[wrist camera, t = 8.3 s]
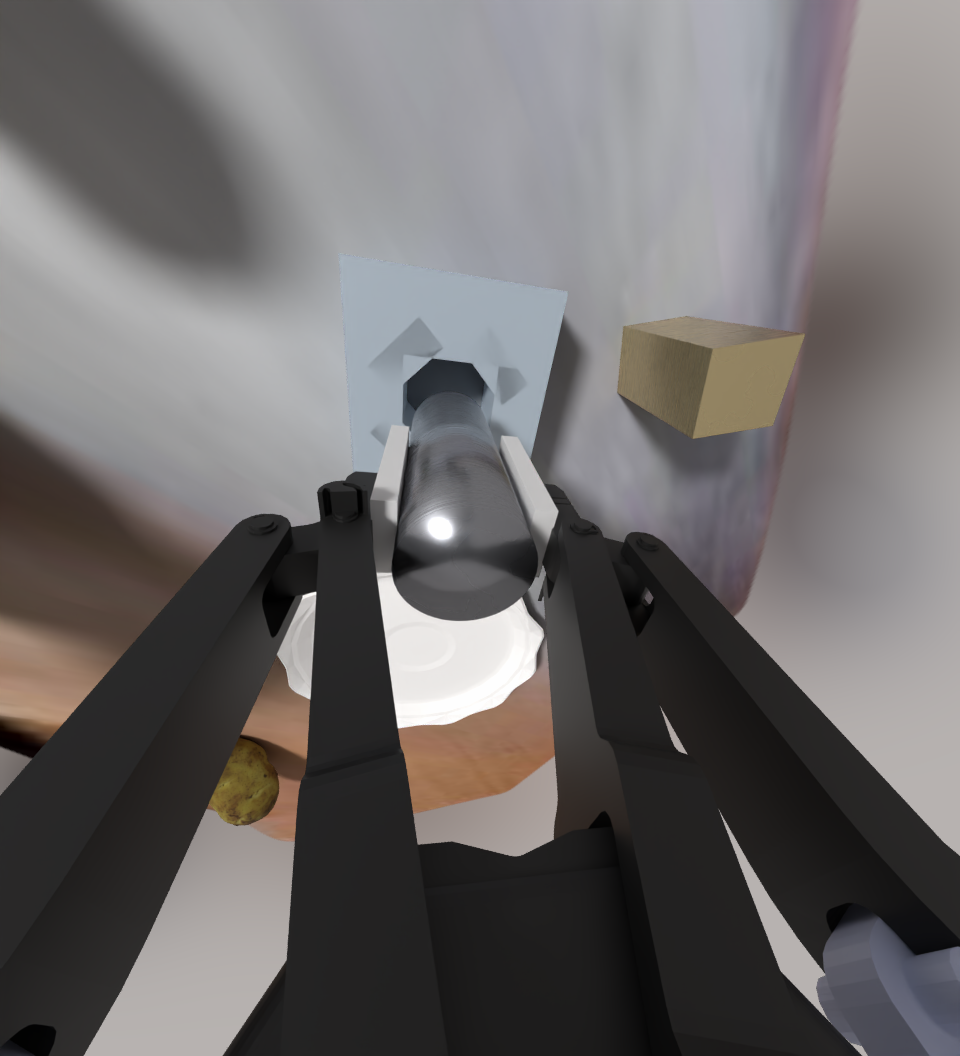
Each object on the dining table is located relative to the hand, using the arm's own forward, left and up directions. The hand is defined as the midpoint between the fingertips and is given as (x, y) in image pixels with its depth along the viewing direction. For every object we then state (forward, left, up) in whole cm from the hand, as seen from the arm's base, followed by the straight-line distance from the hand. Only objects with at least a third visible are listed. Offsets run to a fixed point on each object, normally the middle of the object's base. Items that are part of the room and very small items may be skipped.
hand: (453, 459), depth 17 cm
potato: (+53, -24, -13) cm, 59 cm away
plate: (+30, -1, -13) cm, 32 cm away
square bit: (-4, +15, -12) cm, 20 cm away
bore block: (0, 0, -12) cm, 12 cm away
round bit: (0, 0, -4) cm, 4 cm away
